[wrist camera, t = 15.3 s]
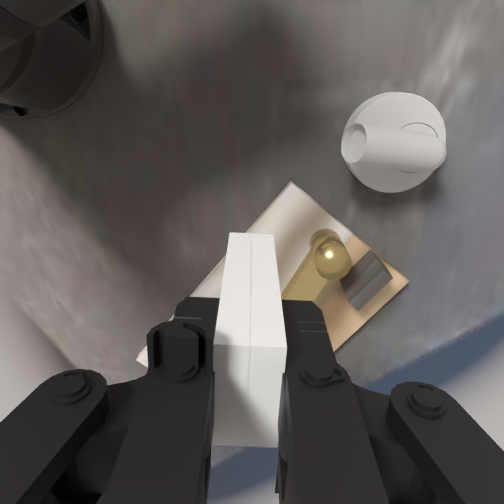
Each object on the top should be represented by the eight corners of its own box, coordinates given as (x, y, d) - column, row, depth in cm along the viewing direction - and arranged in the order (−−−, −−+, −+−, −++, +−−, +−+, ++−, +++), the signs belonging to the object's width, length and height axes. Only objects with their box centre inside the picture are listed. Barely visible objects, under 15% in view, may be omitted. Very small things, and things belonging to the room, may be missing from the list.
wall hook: (365, 80, 30) (504, 109, 30) (340, 80, 38) (448, 102, 39) (333, 201, 33) (460, 224, 33) (317, 174, 42) (417, 193, 42)
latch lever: (274, 353, 46) (276, 384, 42) (238, 336, 45) (236, 365, 41) (353, 241, 41) (365, 262, 37) (314, 219, 41) (321, 237, 36)
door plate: (139, 353, 49) (123, 390, 44) (290, 180, 42) (296, 196, 36) (247, 424, 53) (246, 466, 47) (405, 276, 45) (426, 305, 40)
